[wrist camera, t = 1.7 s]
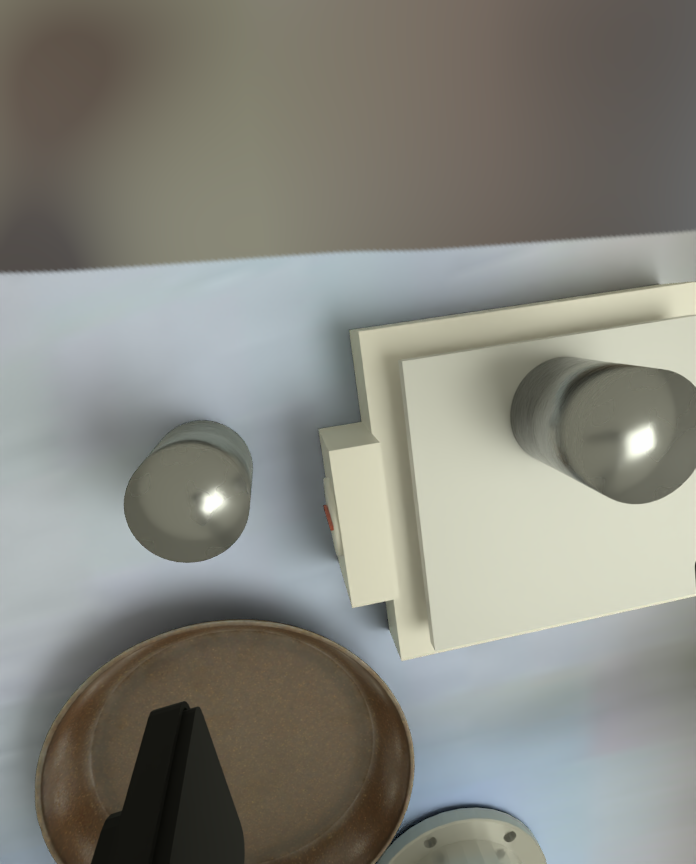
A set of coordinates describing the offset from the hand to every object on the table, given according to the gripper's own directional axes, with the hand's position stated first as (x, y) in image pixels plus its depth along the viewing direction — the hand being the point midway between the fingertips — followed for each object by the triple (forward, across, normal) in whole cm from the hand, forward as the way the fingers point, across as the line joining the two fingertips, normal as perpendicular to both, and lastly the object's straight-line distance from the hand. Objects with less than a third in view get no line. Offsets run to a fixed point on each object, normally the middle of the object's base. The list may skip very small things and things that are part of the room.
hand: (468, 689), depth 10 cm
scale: (+20, -9, +4) cm, 23 cm away
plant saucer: (+21, +10, +18) cm, 29 cm away
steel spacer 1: (+21, +7, 0) cm, 22 cm away
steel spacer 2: (+16, -11, 0) cm, 19 cm away
